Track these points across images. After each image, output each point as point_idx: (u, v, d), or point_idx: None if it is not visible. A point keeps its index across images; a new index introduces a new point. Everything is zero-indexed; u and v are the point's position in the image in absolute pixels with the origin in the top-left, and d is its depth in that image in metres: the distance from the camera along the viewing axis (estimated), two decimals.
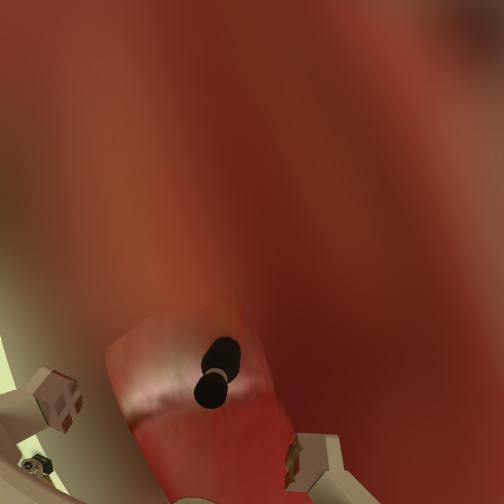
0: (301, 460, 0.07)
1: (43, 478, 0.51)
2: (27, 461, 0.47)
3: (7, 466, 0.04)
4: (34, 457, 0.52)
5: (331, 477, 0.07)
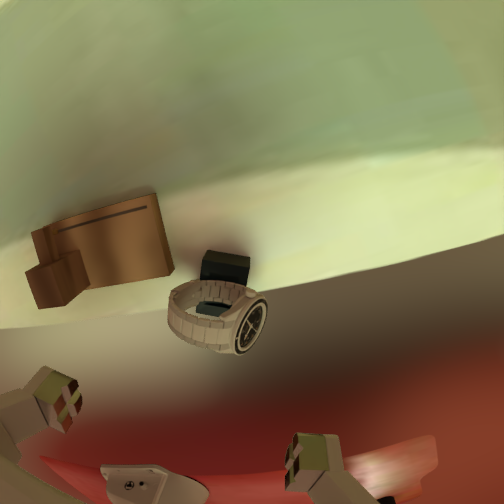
0: (301, 460, 0.07)
1: (163, 264, 0.28)
2: (261, 309, 0.24)
3: (7, 466, 0.04)
4: None
5: (331, 477, 0.07)
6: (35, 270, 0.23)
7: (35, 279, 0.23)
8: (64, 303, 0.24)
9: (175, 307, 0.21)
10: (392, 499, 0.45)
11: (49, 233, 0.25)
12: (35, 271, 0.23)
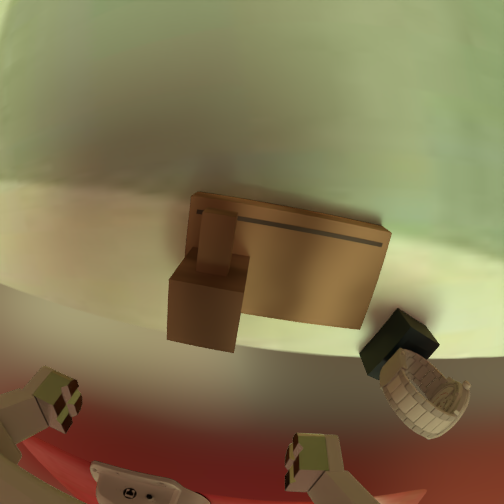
0: (301, 460, 0.07)
1: (360, 316, 0.22)
2: None
3: (7, 466, 0.04)
4: None
5: (331, 477, 0.07)
6: (199, 286, 0.16)
7: (190, 299, 0.16)
8: None
9: (422, 396, 0.15)
10: None
11: (235, 226, 0.17)
12: (199, 287, 0.16)
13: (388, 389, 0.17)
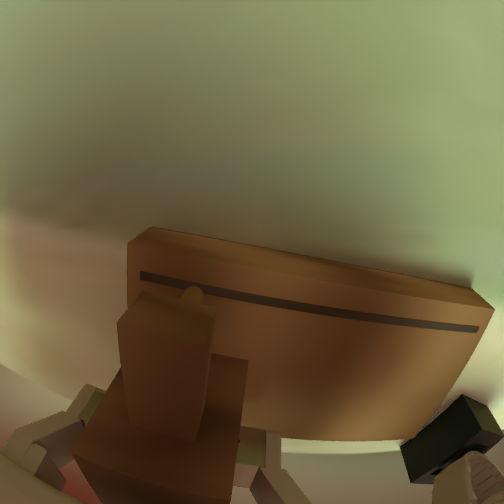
0: None
1: (419, 424, 0.11)
2: None
3: (7, 466, 0.04)
4: None
5: (265, 474, 0.07)
6: (132, 477, 0.05)
7: (121, 485, 0.05)
8: None
9: None
10: None
11: (210, 345, 0.06)
12: (132, 479, 0.05)
13: None
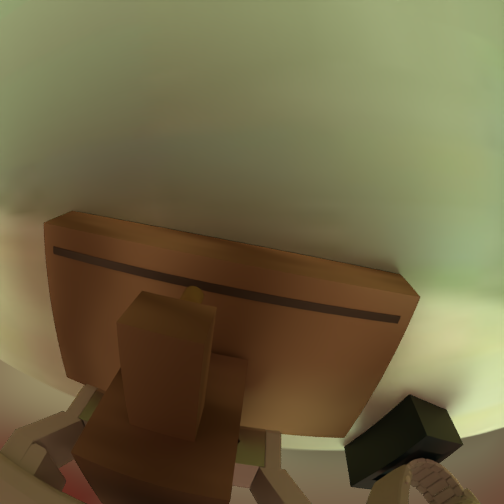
0: None
1: (346, 422, 0.12)
2: None
3: (7, 466, 0.04)
4: None
5: (265, 474, 0.07)
6: (132, 477, 0.05)
7: (121, 485, 0.05)
8: None
9: None
10: None
11: (209, 345, 0.06)
12: (131, 479, 0.05)
13: None
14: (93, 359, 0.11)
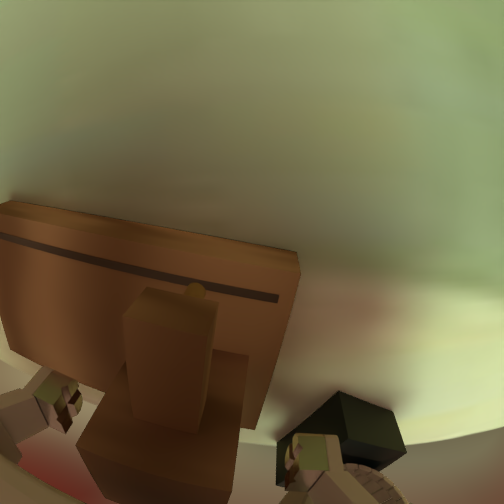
0: (301, 460, 0.07)
1: (251, 413, 0.12)
2: None
3: (7, 466, 0.04)
4: None
5: (331, 477, 0.07)
6: (136, 469, 0.05)
7: (125, 478, 0.06)
8: None
9: None
10: None
11: (212, 339, 0.07)
12: (135, 471, 0.05)
13: None
14: (24, 330, 0.11)
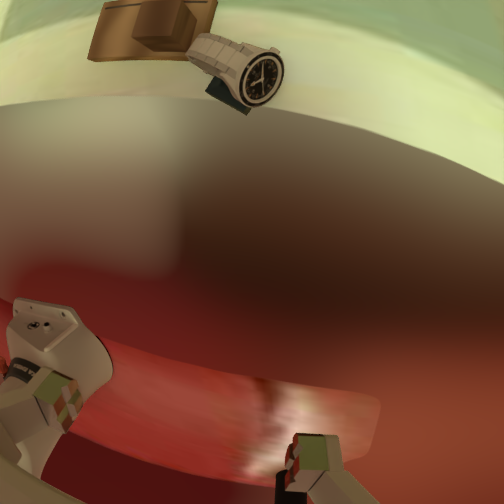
0: (301, 460, 0.07)
1: None
2: (276, 77, 0.21)
3: (7, 466, 0.04)
4: None
5: (331, 477, 0.07)
6: (157, 1, 0.19)
7: (151, 9, 0.19)
8: (171, 34, 0.20)
9: None
10: None
11: None
12: (157, 1, 0.19)
13: None
14: (104, 41, 0.25)
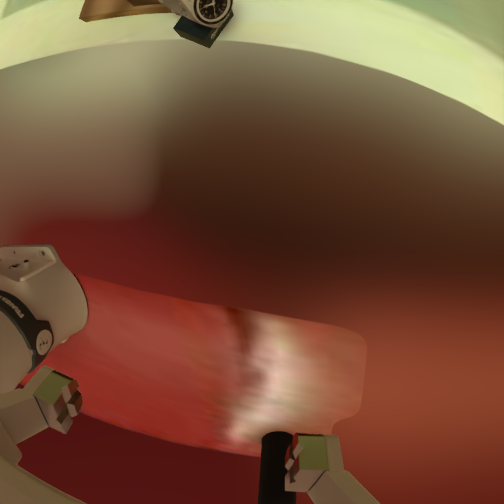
0: (301, 460, 0.07)
1: None
2: (226, 3, 0.22)
3: (7, 466, 0.04)
4: None
5: (331, 477, 0.07)
6: None
7: None
8: None
9: None
10: (292, 439, 0.49)
11: None
12: None
13: None
14: (93, 3, 0.25)
